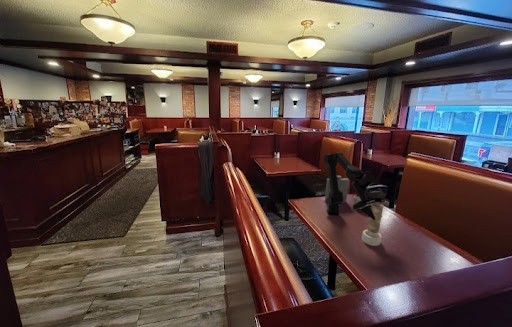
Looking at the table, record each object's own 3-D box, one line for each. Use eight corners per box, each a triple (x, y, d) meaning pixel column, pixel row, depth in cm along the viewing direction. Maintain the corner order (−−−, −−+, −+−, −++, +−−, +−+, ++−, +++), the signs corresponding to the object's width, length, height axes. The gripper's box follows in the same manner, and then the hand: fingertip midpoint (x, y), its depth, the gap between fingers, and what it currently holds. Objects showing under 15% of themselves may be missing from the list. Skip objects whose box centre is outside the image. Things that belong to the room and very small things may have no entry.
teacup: (362, 213, 147) (364, 201, 145) (349, 206, 157) (350, 195, 155) (376, 208, 154) (378, 198, 152) (362, 202, 163) (364, 192, 161)
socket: (364, 244, 114) (365, 237, 113) (360, 235, 122) (361, 228, 121) (382, 246, 112) (383, 239, 111) (376, 237, 120) (378, 230, 119)
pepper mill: (369, 232, 114) (374, 204, 110) (366, 227, 119) (371, 200, 115) (380, 233, 113) (385, 205, 109) (376, 228, 118) (381, 201, 114)
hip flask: (344, 200, 166) (348, 174, 161) (347, 202, 162) (350, 176, 157) (324, 201, 165) (326, 175, 160) (326, 203, 161) (328, 177, 156)
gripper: (360, 186, 109) (378, 217, 102) (384, 181, 117) (402, 209, 111) (345, 196, 117) (361, 224, 111) (369, 190, 126) (384, 216, 119)
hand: (378, 218), depth 113 cm, fingers closed on pepper mill, 5 cm apart
